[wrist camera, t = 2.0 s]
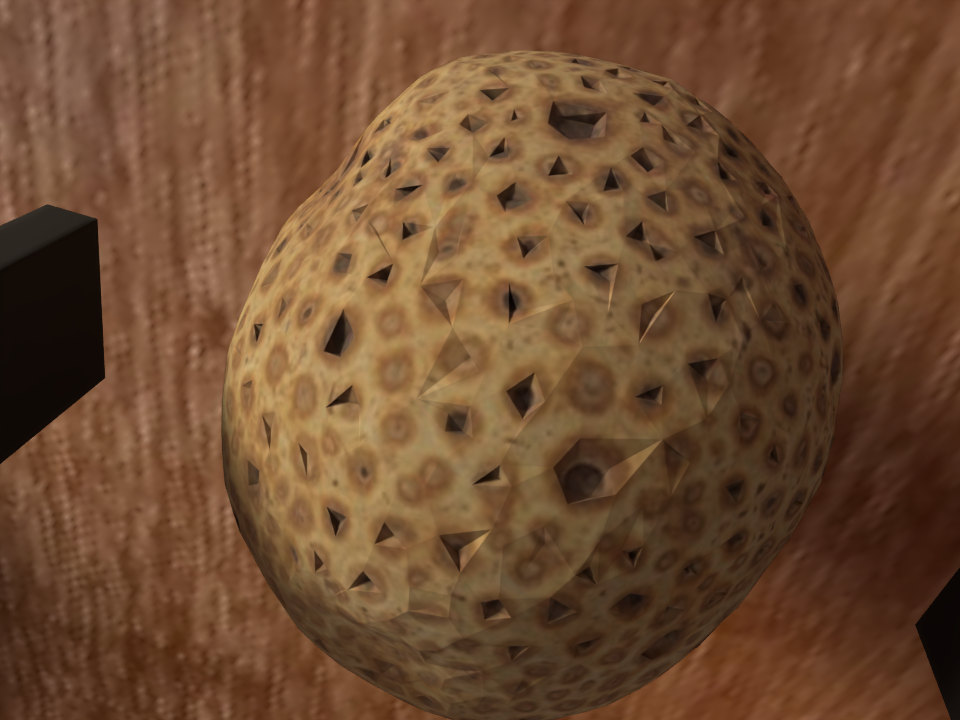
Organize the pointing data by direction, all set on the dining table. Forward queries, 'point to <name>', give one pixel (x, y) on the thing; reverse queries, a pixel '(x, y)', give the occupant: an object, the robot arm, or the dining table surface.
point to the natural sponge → (531, 387)
